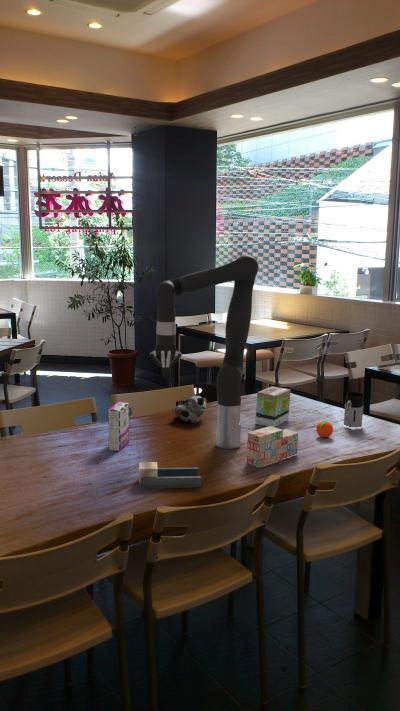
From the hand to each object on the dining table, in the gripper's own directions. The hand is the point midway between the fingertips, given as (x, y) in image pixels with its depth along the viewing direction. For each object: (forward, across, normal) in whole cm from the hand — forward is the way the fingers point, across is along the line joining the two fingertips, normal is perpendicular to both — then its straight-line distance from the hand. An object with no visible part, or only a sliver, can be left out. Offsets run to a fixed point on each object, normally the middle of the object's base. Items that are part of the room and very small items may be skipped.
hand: (165, 376), depth 239 cm
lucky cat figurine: (+27, -13, -29) cm, 42 cm away
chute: (+27, 0, +41) cm, 49 cm away
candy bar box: (+27, +18, +5) cm, 33 cm away
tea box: (+27, -50, -25) cm, 62 cm away
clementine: (+27, -67, -3) cm, 72 cm away
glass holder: (+27, -83, -15) cm, 89 cm away
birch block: (+26, +7, +41) cm, 49 cm away
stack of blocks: (+27, -40, +21) cm, 52 cm away
